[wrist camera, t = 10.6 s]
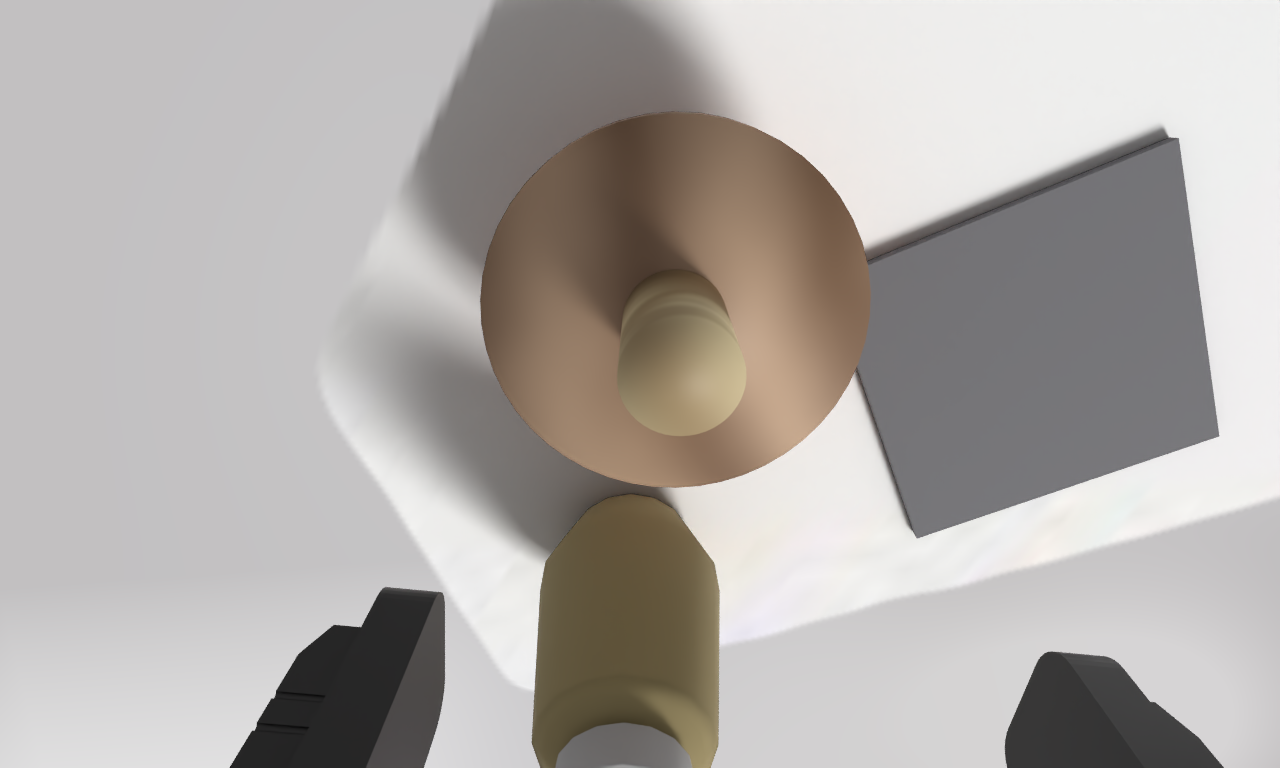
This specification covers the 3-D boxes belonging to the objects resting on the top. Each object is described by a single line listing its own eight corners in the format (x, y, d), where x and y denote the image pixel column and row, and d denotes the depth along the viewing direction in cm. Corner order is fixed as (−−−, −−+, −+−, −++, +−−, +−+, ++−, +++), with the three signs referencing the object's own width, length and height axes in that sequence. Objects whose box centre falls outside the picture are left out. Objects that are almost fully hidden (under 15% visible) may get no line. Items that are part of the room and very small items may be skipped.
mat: (1169, 137, 28) (1178, 138, 27) (1211, 431, 33) (1219, 436, 32) (825, 278, 30) (828, 281, 30) (913, 532, 35) (917, 538, 35)
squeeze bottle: (740, 505, 35) (825, 897, 18) (672, 625, 38) (693, 1056, 21) (585, 448, 33) (524, 811, 17) (528, 576, 36) (429, 992, 20)
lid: (788, 38, 22) (839, 24, 16) (904, 396, 26) (976, 485, 21) (417, 213, 24) (345, 256, 18) (586, 516, 28) (571, 626, 23)
